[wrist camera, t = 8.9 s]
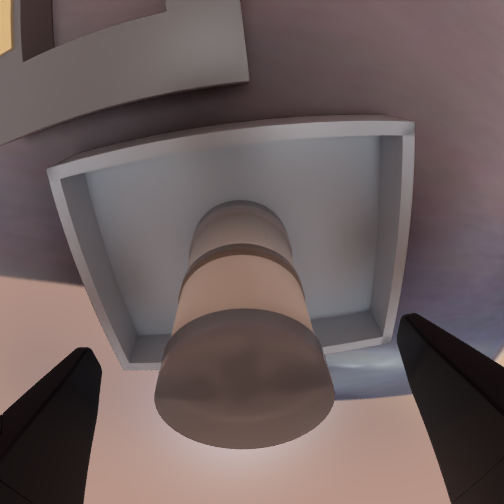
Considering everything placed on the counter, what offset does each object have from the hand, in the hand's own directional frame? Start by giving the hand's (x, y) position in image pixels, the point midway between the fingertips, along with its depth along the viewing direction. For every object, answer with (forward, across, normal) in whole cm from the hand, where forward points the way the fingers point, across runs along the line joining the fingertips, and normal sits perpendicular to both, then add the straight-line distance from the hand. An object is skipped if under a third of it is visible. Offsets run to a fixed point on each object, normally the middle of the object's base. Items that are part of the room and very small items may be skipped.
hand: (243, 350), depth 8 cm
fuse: (+6, 0, 0) cm, 6 cm away
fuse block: (+6, +4, -12) cm, 14 cm away
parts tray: (+6, 0, 0) cm, 6 cm away
